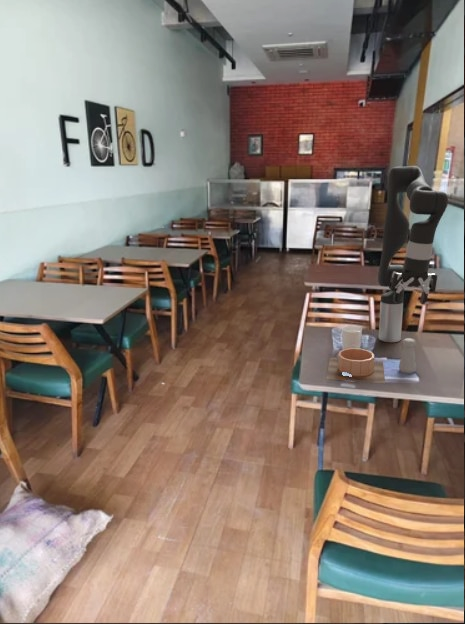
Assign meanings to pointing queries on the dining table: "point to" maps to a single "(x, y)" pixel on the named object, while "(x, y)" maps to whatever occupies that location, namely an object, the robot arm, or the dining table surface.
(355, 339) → the white cup
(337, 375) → the walnut board
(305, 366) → the dining table surface
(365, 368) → the wooden bowl
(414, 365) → the salt shaker
